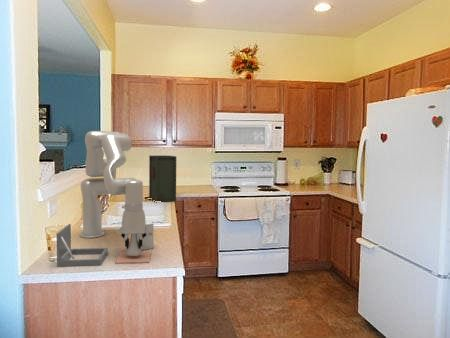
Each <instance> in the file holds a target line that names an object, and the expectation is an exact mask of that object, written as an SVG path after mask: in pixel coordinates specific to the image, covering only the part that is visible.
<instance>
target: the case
mask: <svg viewBox="0 0 450 338" xmlns="http://www.w3.org/2000/svg"><path fill="white" fill-rule="evenodd" d="M71 227H72V225H71V223H68V224H67V225H65V226H64V227H63V228H62V229H61V230H59V231H57V232H56V267H57V268H59V267H61V268H63V267H87V266H88V267H91V266H92V267H93V266H94V267H95V266H101V265H102V264H103V262H104V260H105V258H107V256H108V254H109V247H91V248H86V247H85V248H72V236H71V235H72V233H71V231H72V230H71V229H72V228H71ZM75 255H76V256H77V255H100V256H99V257H97V258H87V259H85V258H84V259H83V258H81V259H79V258H77V259H76V258H75ZM71 258H72V259H71Z"/></svg>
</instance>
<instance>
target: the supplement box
mask: <svg viewBox="0 0 450 338" xmlns="http://www.w3.org/2000/svg"><path fill="white" fill-rule="evenodd" d="M145 221H146V226H147V227H148V228H149V230H150V233H149V234H148V235H146V236H145V237H144V238H143V239H142V246H141V251H143V250H151V249H154V223H153V222H152V221H149V220H145ZM145 232H146V230H145ZM145 232H144V233H145ZM144 233H143V234H144ZM139 238H140V237H139V234H137V239H138V243H139Z"/></svg>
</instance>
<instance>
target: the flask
mask: <svg viewBox="0 0 450 338" xmlns="http://www.w3.org/2000/svg"><path fill="white" fill-rule="evenodd" d="M125 252H126V255H128V256H138V255H140V254H142V252H143V250H141V248H140V249H139V243H138V239H137V234H130V239H129V246H128V249H127V248H126V251H125Z"/></svg>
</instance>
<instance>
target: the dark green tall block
mask: <svg viewBox="0 0 450 338" xmlns="http://www.w3.org/2000/svg"><path fill="white" fill-rule="evenodd" d="M148 157H149V159H148V160H149V162H148V166H149V167H148V169H149V170H148V171H149V173H148V174H149V177H148V178H149V182H148V185H149V186H148V189H149V191H148V193H149V194H148V195H149V197H148V199H149V198H152V199H154V200H155V201H161V202H163V203H174V202H176V203H177V156H176V155H148ZM149 201H151V199H150V200H149ZM155 201H154V202H153V200H152V201H151V202H153V203H155ZM155 204H158V203H157V202H156V203H155Z"/></svg>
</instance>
